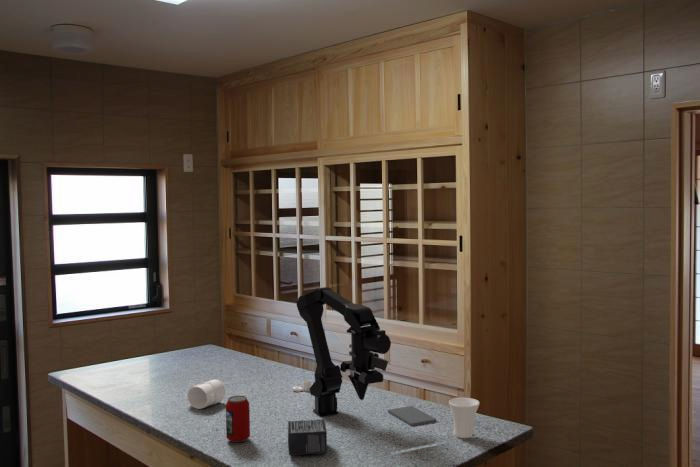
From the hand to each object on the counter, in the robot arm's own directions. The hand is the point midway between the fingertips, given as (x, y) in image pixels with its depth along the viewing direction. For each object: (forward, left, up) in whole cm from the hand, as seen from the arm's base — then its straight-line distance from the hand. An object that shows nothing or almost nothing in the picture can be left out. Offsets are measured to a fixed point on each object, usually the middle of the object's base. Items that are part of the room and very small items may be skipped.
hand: (361, 399), depth 197 cm
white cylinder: (-39, +44, -8) cm, 59 cm away
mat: (+17, 0, -8) cm, 19 cm away
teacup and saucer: (-2, +46, -9) cm, 47 cm away
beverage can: (-37, +6, -8) cm, 38 cm away
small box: (-17, -12, -5) cm, 21 cm away
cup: (+23, -21, -8) cm, 32 cm away
